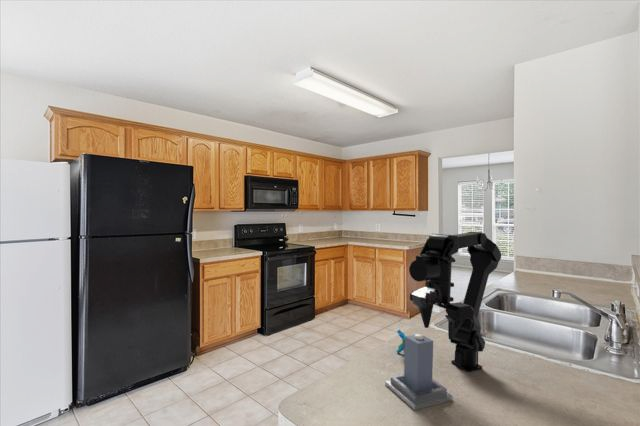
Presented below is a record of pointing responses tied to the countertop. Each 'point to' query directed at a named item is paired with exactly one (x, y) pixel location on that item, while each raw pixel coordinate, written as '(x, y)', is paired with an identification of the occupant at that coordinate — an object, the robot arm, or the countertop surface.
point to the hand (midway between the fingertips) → (438, 333)
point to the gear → (402, 341)
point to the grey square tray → (419, 399)
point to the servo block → (418, 363)
